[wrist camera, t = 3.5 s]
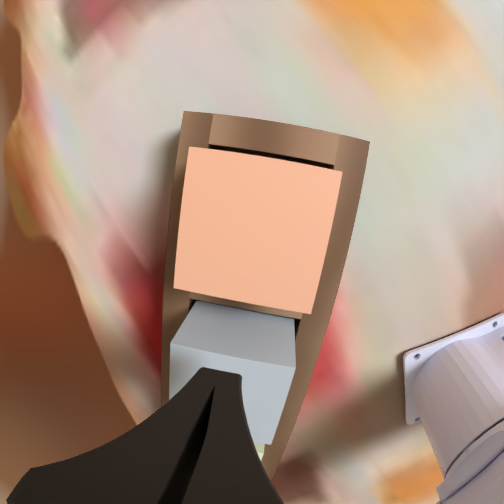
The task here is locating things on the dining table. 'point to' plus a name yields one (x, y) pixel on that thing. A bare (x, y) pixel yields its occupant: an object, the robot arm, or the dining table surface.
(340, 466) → the dining table surface
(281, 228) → the peach square block
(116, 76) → the dining table surface
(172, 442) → the robot arm
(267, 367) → the slate key
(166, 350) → the wooden tray
